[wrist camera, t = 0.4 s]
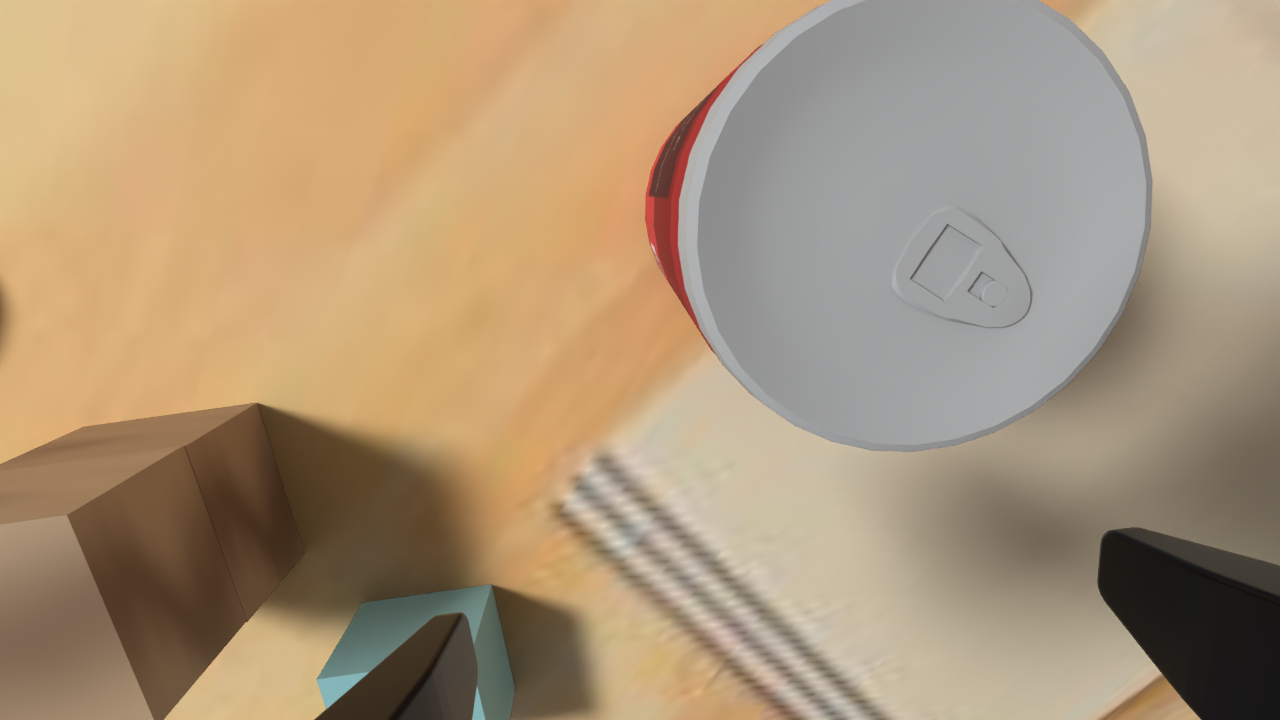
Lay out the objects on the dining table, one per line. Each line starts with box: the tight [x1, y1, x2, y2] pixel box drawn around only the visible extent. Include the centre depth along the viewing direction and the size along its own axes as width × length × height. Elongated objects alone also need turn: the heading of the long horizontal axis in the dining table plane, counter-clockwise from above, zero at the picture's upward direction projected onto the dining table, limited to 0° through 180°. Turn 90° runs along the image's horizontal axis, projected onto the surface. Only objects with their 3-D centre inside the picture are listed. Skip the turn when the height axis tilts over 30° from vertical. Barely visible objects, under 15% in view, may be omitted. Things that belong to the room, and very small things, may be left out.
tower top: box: [0, 445, 246, 720], centre depth 17 cm, size 6×6×4 cm
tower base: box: [0, 403, 304, 622], centre depth 20 cm, size 6×6×4 cm
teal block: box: [317, 584, 515, 720], centre depth 23 cm, size 5×5×4 cm
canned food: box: [645, 0, 1152, 452], centre depth 15 cm, size 8×8×11 cm
